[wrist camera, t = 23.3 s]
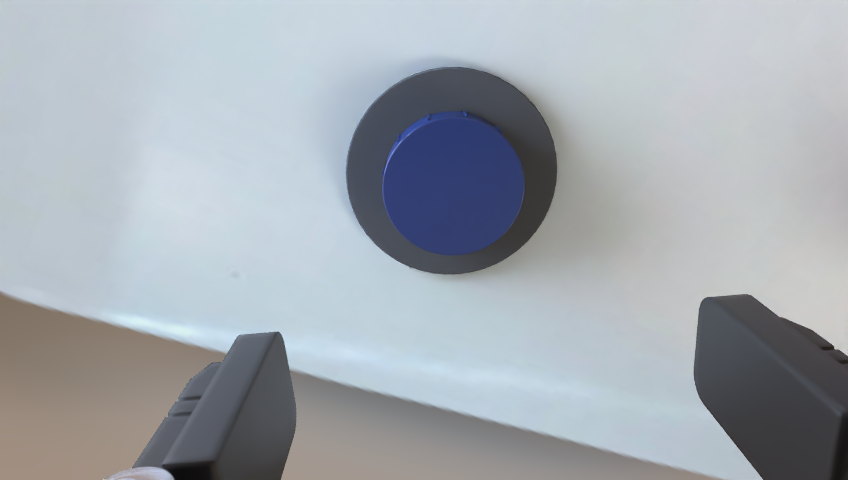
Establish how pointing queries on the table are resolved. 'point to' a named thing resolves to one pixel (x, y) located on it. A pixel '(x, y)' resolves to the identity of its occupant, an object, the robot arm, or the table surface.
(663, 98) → the table surface
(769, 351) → the robot arm
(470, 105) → the coaster
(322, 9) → the table surface
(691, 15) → the table surface
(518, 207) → the lid
